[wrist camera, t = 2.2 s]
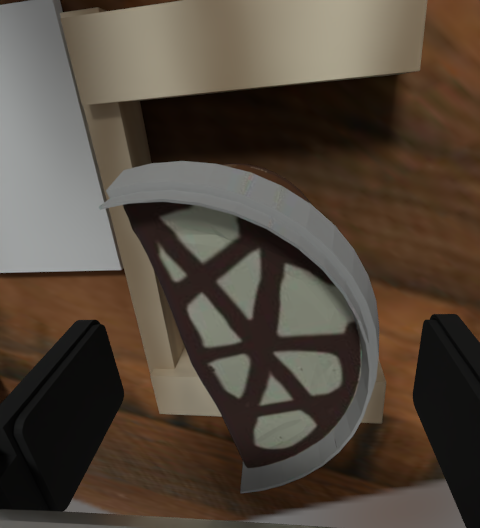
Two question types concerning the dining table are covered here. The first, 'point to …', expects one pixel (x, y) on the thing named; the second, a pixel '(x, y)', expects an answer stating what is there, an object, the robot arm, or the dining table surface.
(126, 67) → the maple holder
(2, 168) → the grey mat
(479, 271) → the dining table surface
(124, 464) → the dining table surface
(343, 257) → the food container
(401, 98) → the dining table surface
